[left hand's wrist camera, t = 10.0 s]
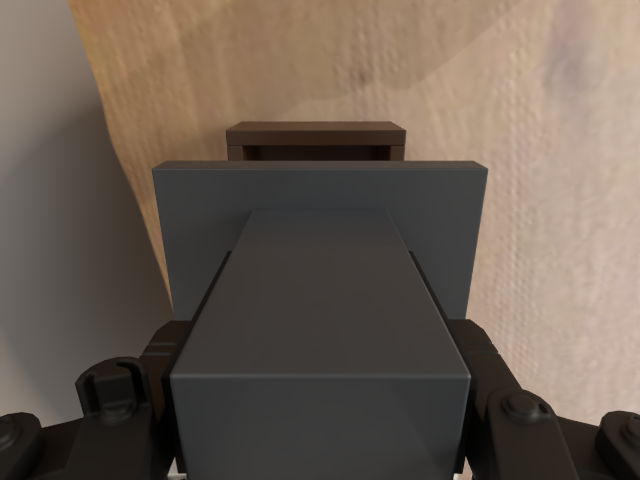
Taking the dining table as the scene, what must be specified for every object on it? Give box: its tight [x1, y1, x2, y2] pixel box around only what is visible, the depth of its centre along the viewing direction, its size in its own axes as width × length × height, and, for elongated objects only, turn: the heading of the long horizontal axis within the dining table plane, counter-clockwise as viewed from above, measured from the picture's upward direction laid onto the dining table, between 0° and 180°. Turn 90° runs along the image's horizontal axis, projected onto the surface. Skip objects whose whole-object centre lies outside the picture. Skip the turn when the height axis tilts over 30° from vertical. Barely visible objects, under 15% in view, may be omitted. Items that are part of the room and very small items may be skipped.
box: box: [226, 122, 406, 161], centre depth 34 cm, size 24×12×6 cm, turn 0°
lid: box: [152, 161, 488, 480], centre depth 14 cm, size 14×12×12 cm
